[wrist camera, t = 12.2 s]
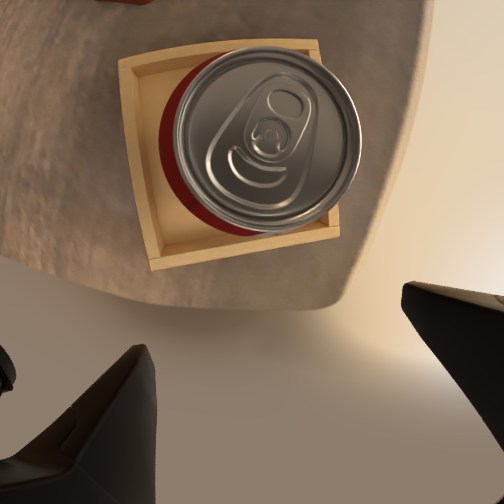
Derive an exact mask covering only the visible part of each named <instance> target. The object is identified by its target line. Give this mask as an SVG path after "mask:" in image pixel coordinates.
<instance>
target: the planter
mask: <svg viewBox="0 0 504 504" xmlns="http://www.w3.org/2000/svg"><path fill="white" fill-rule="evenodd" d="M96 1H110V2H122V3H131V4H139V5H142V4H148V3H150V2H152V1H154V0H96Z"/></svg>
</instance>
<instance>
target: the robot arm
mask: <svg viewBox="0 0 504 504" xmlns="http://www.w3.org/2000/svg"><path fill="white" fill-rule="evenodd" d="M401 307H402V310H403V311H404V313H405V314H406V316H407V317H408V319H409V320H410V322H411V323H412V325H413V326H414V328H415V329H416V331H417V332H418V334H419V335H420V337H421V338H422V339H423V341H424V342H425V343H426V344H427V346H428V347H429V348H430V349H431V351H432V352H433V353H434V355H435V356H436V357H437V358H438V360H439V361H440V362H441V364H442V365H443V366H444V367H445V369H446V370H447V371H448V373H449V374H450V375H451V377H452V378H453V379H454V380H455V382H456V383H457V384H458V386H459V387H460V388H461V390H462V391H463V392H464V394H465V395H466V397H467V398H468V399H469V401H470V402H471V404H472V405H473V406H474V408H475V409H476V411H477V412H478V414H479V415H480V416H481V417H482V419H483V421H484V422H485V424H486V426H487V427H488V428H489V430H490V431H491V433H492V434H493V436H494V438H495V439H496V441H497V442H498V444H499V445H500V447H501V448H502V450H503V451H504V296H499V295H492V294H487V293H481V292H475V291H469V290H464V289H458V288H452V287H446V286H440V285H434V284H428V283H422V282H416V281H411V282H409V283H405V284H404V286H403V289H402V299H401ZM155 382H156V381H155V367H154V364H153V361H152V359H151V356H150V354H149V351H148V349H147V347H146V345H144V344H139V345H133V346H132V347H131V348H130V349H129V350H127V351H126V352H125V353H124V354H123V355H122V356H121V357H120V358H119V360H117V361H116V362H115V363H114V364H113V365H112V366H111V367H110V368H109V369H108V370H107V371H106V372H105V373H104V374H103V375H102V376H101V377H100V378H99V379H98V380H97V381H96V382H95V383H94V384H92V385H91V386H90V387H89V388H88V389H87V390H86V391H85V392H84V393H83V394H82V395H81V396H80V397H79V398H78V399H77V400H76V401H75V402H74V403H73V404H72V405H71V407H69V408H68V409H67V410H66V411H65V412H64V413H63V414H62V415H61V416H60V417H59V418H58V419H57V420H56V421H54V422H53V423H52V424H51V425H50V426H49V427H48V428H46V429H45V430H44V431H43V432H42V433H41V434H40V435H38V436H37V437H36V438H35V439H33V440H32V441H31V442H30V443H29V444H27V445H26V446H25V447H24V448H22V449H21V450H20V451H19V452H18V453H16V454H15V455H13V456H11V457H9V458H6V459H3V460H0V504H155V454H156V453H155V452H156V451H155V450H156V425H157V399H156V383H155ZM13 388H14V387H13V385H12V384H11V382H10V381H9V379H8V377H7V376H6V374H5V373H4V371H3V369H2V367H1V366H0V396H1V395H2V393H3V391H12V390H13ZM495 504H504V495H503V496H502V497H501V498H500V499H499V500H498V501H497V502H496V503H495Z"/></svg>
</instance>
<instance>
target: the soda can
mask: <svg viewBox="0 0 504 504" xmlns="http://www.w3.org/2000/svg"><path fill="white" fill-rule="evenodd" d="M158 145H159V155H160V161H161V165H162V169H163V172H164V174H165V177H166V179H167V182H168V184H169V186H170V188H171V189H172V191H173V192H174V194H175V195H176V197H177V198H178V199H179V201H180V202H181V203H182V204H183V205H184V206H185V207H186V208H187V210H188V211H190V212H191V213H192V214H193V215H194V216H195V217H197V218H198V219H200V220H201V221H203V222H204V223H206V224H208V225H209V226H211V227H213V228H216V229H218V230H220V231H223V232H226V233H229V234H233V235H238V236H244V237H269V236H275V235H279V234H283V233H287V232H289V231H292V230H295V229H297V228H299V227H302V226H305V225H307V224H309V223H311V222H313V221H315V220H317V219H319V218H320V217H322V216H323V215H324V214H326V213H327V212H328V211H330V210H331V209H332V208H333V207H334V206H335V205H336V204H337V203H338V202H339V201H340V200H341V198H342V197H343V196H344V194H345V193H346V192H347V190H348V188H349V187H350V185H351V183H352V181H353V179H354V176H355V174H356V171H357V168H358V164H359V160H360V155H361V128H360V122H359V118H358V115H357V111H356V109H355V106H354V104H353V101H352V99H351V98H350V96H349V94H348V92H347V91H346V89H345V88H344V86H343V85H342V84H341V82H340V81H339V80H338V79H337V78H336V77H335V75H334V74H333V73H331V72H330V71H329V70H328V69H327V68H326V67H325V66H323V65H322V64H320V63H319V62H317V61H316V60H314V59H313V58H311V57H309V56H307V55H305V54H302V53H300V52H297V51H294V50H291V49H287V48H282V47H276V46H255V47H247V48H243V49H237V50H232V51H228V52H224V53H222V54H219V55H216V56H214V57H212V58H210V59H208V60H206V61H204V62H203V63H201V64H200V65H198V66H197V67H195V68H194V69H193V70H192V71H190V72H189V73H188V74H187V75H186V76H185V77H184V78H183V79H182V80H181V82H180V83H179V84H178V85H177V87H176V88H175V89H174V91H173V92H172V94H171V96H170V98H169V99H168V101H167V104H166V106H165V108H164V111H163V114H162V118H161V122H160V127H159V137H158Z"/></svg>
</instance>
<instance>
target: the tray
mask: <svg viewBox="0 0 504 504" xmlns="http://www.w3.org/2000/svg"><path fill="white" fill-rule="evenodd" d="M255 46H276V47H282V48H287V49H291V50H294V51H297V52H300V53H302V54H305V55H307V56H309V57H311V58H313V59H314V60H316V61H317V62H319V63H320V64H322V63H321V57H320V52H319V46H318V41H317V40H310V39H243V40H228V41H217V42H208V43H199V44H192V45H185V46H179V47H173V48H167V49H162V50H157V51H152V52H147V53H143V54H139V55H134V56H130V57H126V58H123V59H119V60H118V70H119V71H118V73H119V86H120V98H121V108H122V117H123V126H124V134H125V141H126V148H127V155H128V162H129V168H130V174H131V180H132V185H133V191H134V196H135V201H136V206H137V211H138V216H139V221H140V226H141V230H142V235H143V239H144V243H145V248H146V252H147V256H148V259H149V264H150V268H151V271H154V270H160V269H165V268H171V267H176V266H182V265H187V264H193V263H198V262H204V261H209V260H214V259H220V258H225V257H231V256H236V255H242V254H247V253H253V252H258V251H264V250H269V249H275V248H280V247H286V246H291V245H297V244H302V243H307V242H313V241H318V240H324V239H329V238H335V237H339V236H340V231H339V212H338V203H337V204H336V205H335V206H334V207H333V208H332V209H331V210H330V211H328V212H327V213H326V214H324V215H323V216H322V217H320V218H319V219H317V220H315V221H313V222H311V223H309V224H307V225H305V226H302V227H299V228H297V229H295V230H292V231H289V232H287V233H283V234H279V235H275V236H269V237H244V236H238V235H233V234H229V233H226V232H223V231H220V230H218V229H216V228H213V227H211V226H209V225H208V224H206V223H204V222H203V221H201V220H200V219H198V218H197V217H195V216H194V215H193V214H192V213H191V212H190V211H188V210H187V208H186V207H185V206H184V205H183V204H182V203H181V202H180V201H179V199H178V198H177V197H176V195H175V194H174V192H173V191H172V189H171V188H170V186H169V184H168V182H167V179H166V177H165V174H164V172H163V169H162V165H161V161H160V155H159V145H158V137H159V127H160V122H161V118H162V114H163V111H164V108H165V106H166V104H167V101H168V99H169V98H170V96H171V94H172V92H173V91H174V89H175V88H176V87H177V85H178V84H179V83H180V82H181V80H182V79H183V78H184V77H185V76H186V75H187V74H188V73H189V72H190V71H192V70H193V69H194V68H195V67H197V66H198V65H200V64H201V63H203V62H204V61H206V60H208V59H210V58H212V57H214V56H216V55H219V54H222V53H224V52H228V51H232V50H237V49H243V48H247V47H255Z"/></svg>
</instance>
